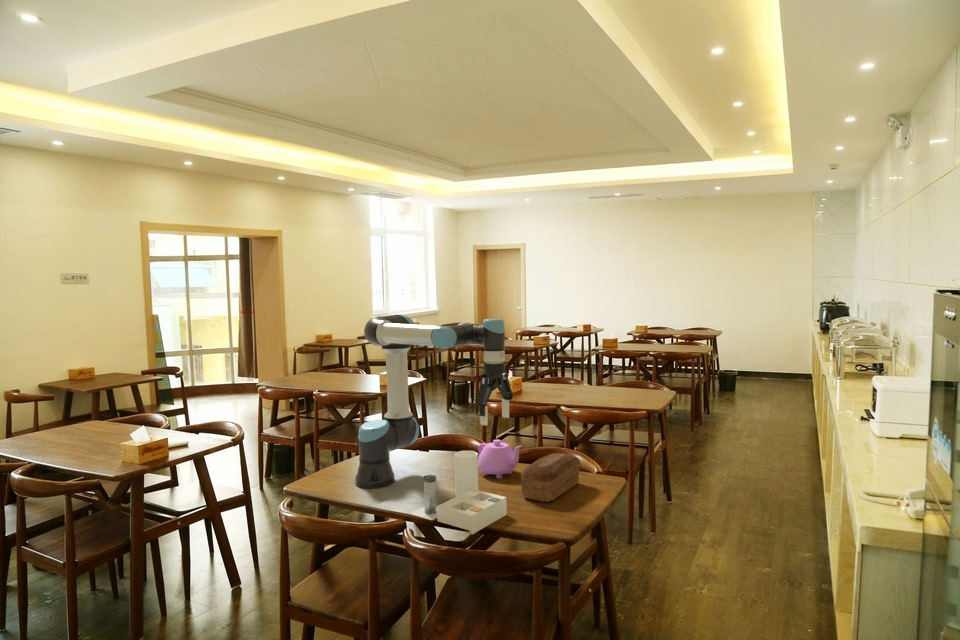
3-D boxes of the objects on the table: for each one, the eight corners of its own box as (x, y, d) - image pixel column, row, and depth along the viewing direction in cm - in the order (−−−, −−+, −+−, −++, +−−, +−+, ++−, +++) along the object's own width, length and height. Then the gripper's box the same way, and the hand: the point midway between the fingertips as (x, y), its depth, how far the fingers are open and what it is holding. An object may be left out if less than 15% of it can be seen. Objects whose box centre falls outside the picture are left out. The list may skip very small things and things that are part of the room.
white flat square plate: (409, 516, 203) (409, 513, 203) (429, 507, 211) (429, 504, 211) (431, 523, 197) (431, 520, 197) (451, 513, 205) (451, 510, 205)
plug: (421, 512, 204) (420, 477, 203) (429, 508, 207) (429, 474, 206) (431, 515, 201) (430, 479, 200) (439, 511, 205) (438, 476, 204)
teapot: (533, 474, 245) (532, 440, 244) (511, 484, 233) (510, 449, 232) (489, 464, 259) (488, 432, 258) (466, 474, 246) (465, 440, 245)
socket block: (437, 524, 197) (437, 505, 196) (473, 505, 212) (472, 488, 211) (472, 534, 188) (471, 514, 188) (506, 514, 203) (506, 496, 203)
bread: (584, 483, 234) (584, 452, 233) (551, 506, 210) (550, 472, 209) (552, 477, 241) (552, 446, 240) (516, 499, 218) (515, 465, 217)
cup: (470, 502, 215) (469, 458, 214) (451, 498, 219) (450, 455, 218) (482, 495, 222) (481, 452, 221) (463, 491, 226) (462, 449, 225)
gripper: (482, 367, 204) (483, 429, 206) (522, 358, 224) (522, 415, 226) (464, 365, 209) (465, 426, 210) (505, 357, 229) (505, 413, 230)
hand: (495, 421), depth 218 cm, fingers open, 13 cm apart
